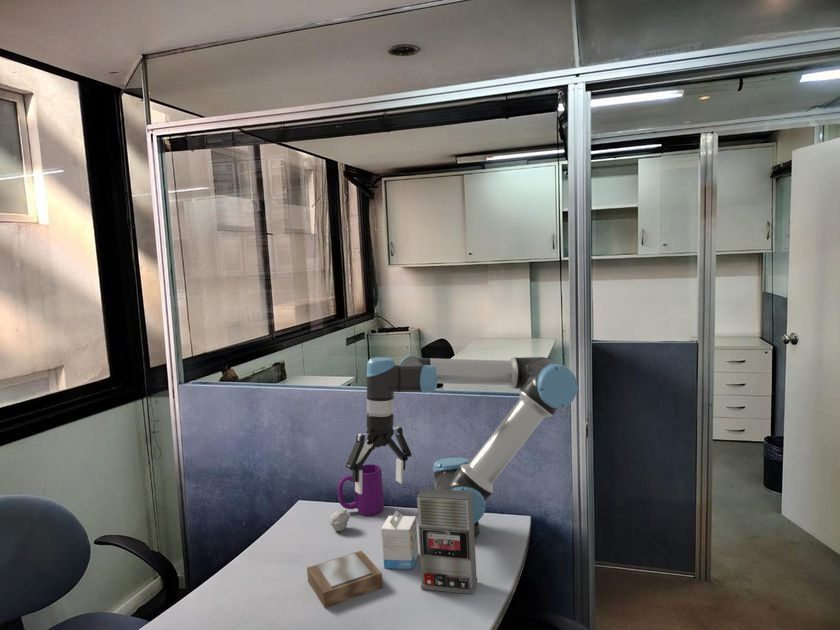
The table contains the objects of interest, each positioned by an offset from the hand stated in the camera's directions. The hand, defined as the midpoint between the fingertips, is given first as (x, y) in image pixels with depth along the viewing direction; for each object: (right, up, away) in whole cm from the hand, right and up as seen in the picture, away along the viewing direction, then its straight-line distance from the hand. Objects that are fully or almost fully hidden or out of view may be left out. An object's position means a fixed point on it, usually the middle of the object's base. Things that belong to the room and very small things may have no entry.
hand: (379, 487), depth 159 cm
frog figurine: (-14, -21, +23) cm, 34 cm away
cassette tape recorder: (+19, -23, -12) cm, 32 cm away
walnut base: (-9, -24, -8) cm, 26 cm away
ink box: (+6, -22, +2) cm, 23 cm away
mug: (-9, -20, +36) cm, 42 cm away
